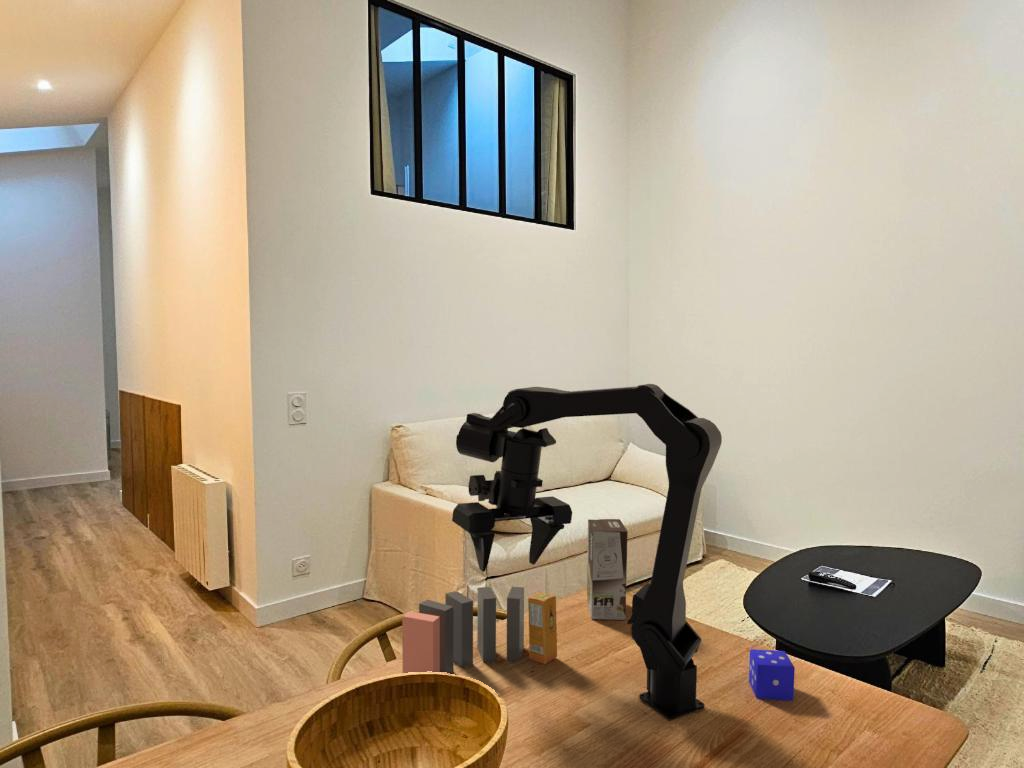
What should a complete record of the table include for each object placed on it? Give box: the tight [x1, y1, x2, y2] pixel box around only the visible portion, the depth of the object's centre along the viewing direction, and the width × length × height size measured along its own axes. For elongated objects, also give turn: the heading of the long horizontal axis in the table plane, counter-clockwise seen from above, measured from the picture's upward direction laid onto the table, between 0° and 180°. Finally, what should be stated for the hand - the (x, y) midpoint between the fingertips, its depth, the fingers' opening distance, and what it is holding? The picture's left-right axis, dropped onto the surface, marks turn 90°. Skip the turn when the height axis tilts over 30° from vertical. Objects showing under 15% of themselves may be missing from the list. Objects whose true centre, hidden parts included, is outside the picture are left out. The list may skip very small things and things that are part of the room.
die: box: [748, 648, 796, 702], centre depth 99 cm, size 5×5×5 cm
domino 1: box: [401, 610, 440, 674], centre depth 100 cm, size 2×5×10 cm, turn 68°
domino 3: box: [444, 590, 474, 668], centre depth 108 cm, size 2×5×10 cm, turn 35°
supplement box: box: [527, 592, 558, 665], centre depth 108 cm, size 3×3×10 cm
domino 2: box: [418, 599, 454, 674], centre depth 105 cm, size 2×5×10 cm, turn 57°
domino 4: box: [476, 586, 497, 663], centre depth 110 cm, size 2×5×10 cm, turn 13°
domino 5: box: [506, 586, 525, 663], centre depth 110 cm, size 2×5×10 cm, turn 171°
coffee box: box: [586, 518, 629, 621], centre depth 128 cm, size 9×6×16 cm
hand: (507, 567), depth 107 cm, fingers open, 9 cm apart
